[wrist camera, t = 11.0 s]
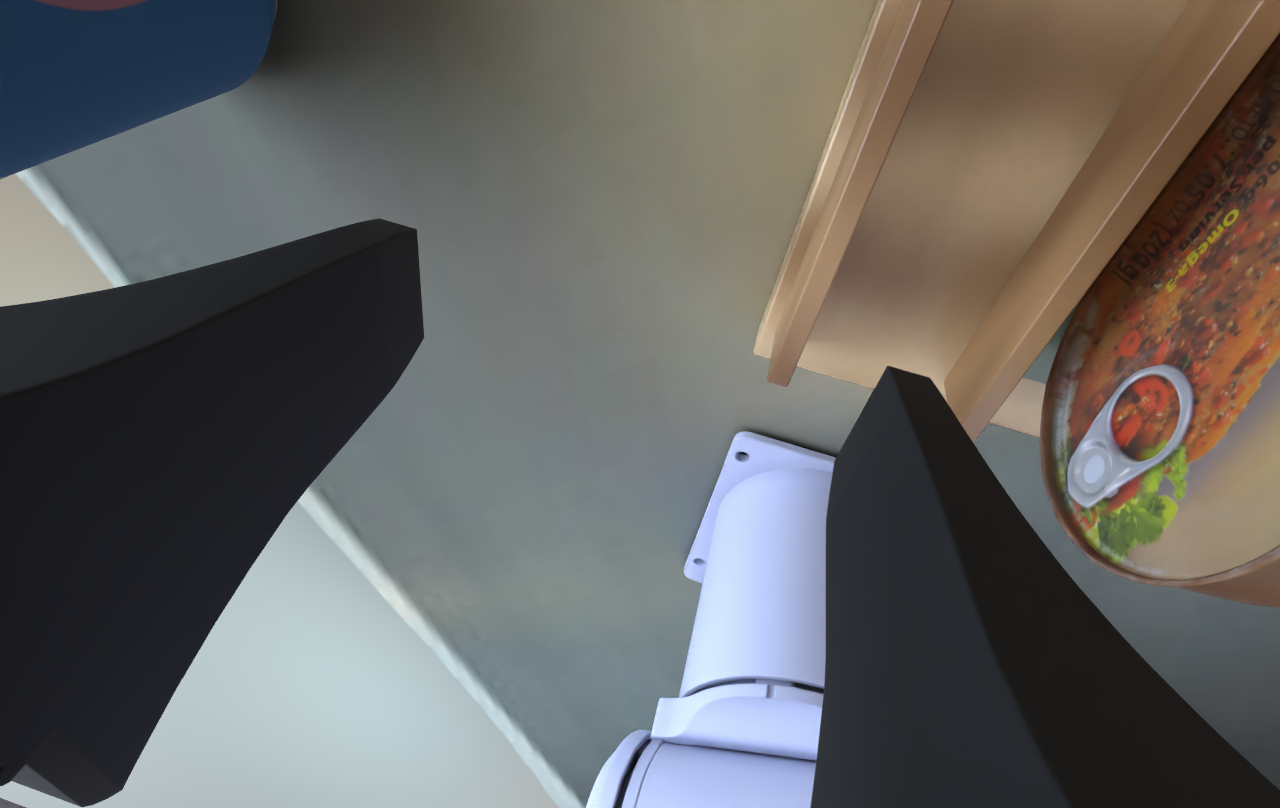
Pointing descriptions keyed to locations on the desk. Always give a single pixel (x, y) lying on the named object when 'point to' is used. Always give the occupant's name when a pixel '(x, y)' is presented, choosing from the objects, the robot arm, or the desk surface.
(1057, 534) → the desk surface
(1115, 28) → the rack
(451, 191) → the desk surface
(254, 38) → the soda can
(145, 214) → the desk surface
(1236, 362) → the tin
